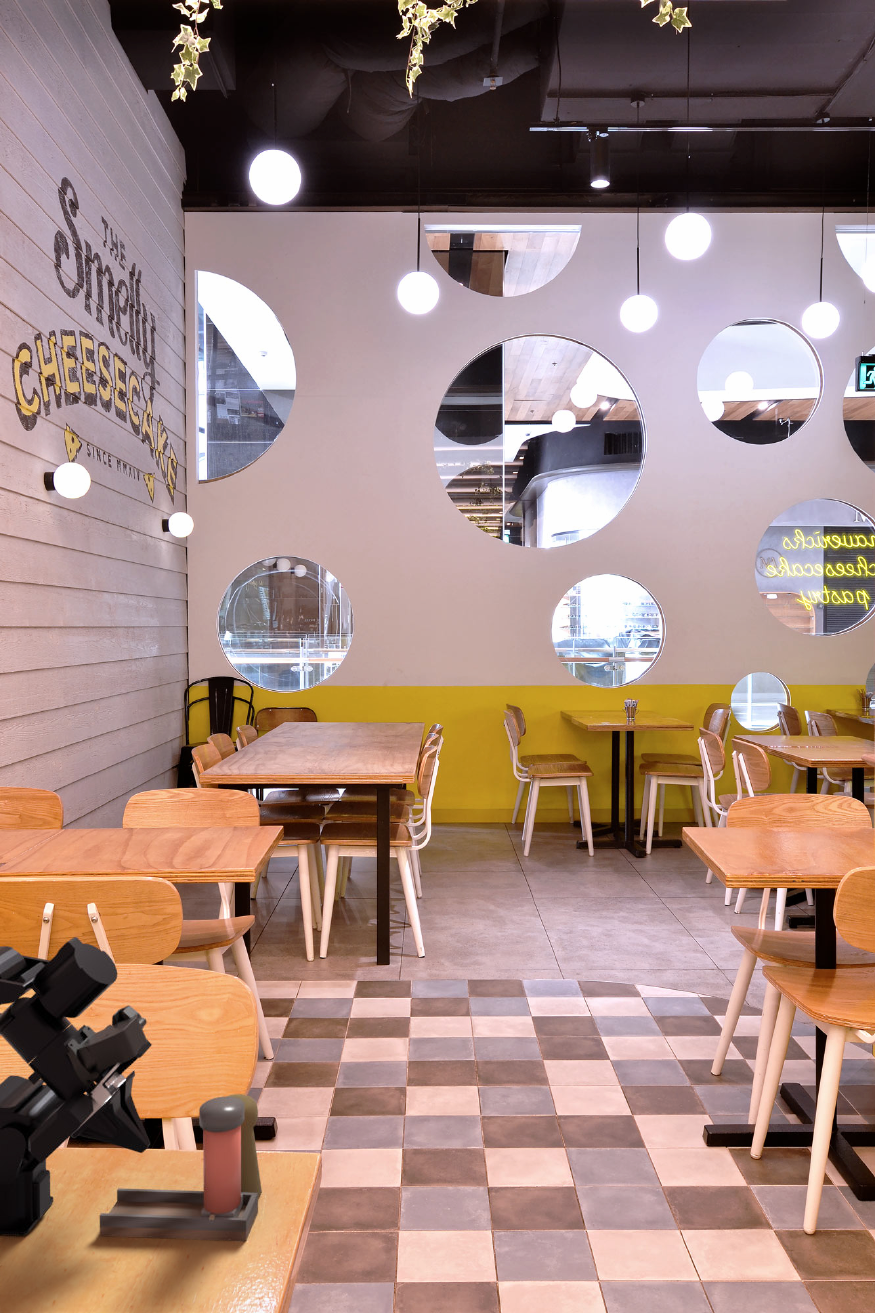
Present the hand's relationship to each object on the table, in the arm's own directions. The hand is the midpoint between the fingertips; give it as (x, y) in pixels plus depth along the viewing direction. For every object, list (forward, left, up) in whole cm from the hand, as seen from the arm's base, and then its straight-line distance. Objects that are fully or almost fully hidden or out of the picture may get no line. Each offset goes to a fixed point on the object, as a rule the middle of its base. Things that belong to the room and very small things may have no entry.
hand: (146, 1148), depth 101 cm
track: (+4, 0, -8) cm, 9 cm away
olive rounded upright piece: (+8, +6, -8) cm, 13 cm away
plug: (+8, 0, -7) cm, 11 cm away
